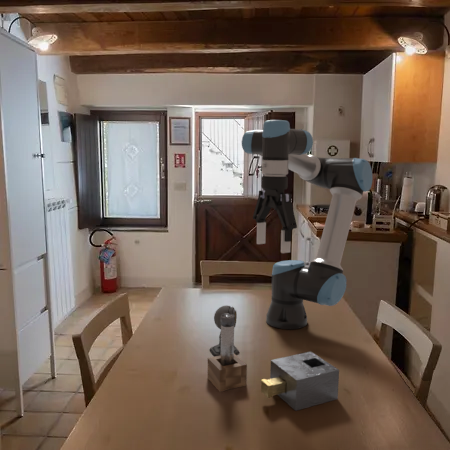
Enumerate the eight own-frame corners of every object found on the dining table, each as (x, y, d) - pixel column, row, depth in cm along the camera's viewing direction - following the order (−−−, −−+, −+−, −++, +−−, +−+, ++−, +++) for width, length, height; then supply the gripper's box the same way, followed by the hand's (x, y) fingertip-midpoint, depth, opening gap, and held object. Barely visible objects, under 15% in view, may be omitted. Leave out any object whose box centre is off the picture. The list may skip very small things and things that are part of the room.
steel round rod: (229, 373, 128) (230, 312, 125) (235, 379, 125) (237, 317, 122) (217, 376, 127) (218, 314, 124) (223, 382, 123) (224, 319, 120)
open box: (233, 372, 131) (233, 352, 130) (246, 385, 124) (246, 364, 123) (207, 378, 128) (207, 357, 127) (219, 391, 121) (219, 370, 120)
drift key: (261, 391, 116) (261, 379, 116) (291, 384, 120) (291, 372, 120) (268, 398, 113) (268, 386, 113) (298, 390, 117) (299, 378, 117)
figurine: (237, 359, 140) (238, 312, 138) (206, 355, 142) (206, 309, 140) (242, 347, 148) (242, 303, 146) (212, 344, 150) (212, 300, 148)
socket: (269, 388, 123) (270, 360, 122) (309, 378, 128) (310, 351, 127) (295, 410, 112) (296, 380, 111) (337, 399, 118) (339, 369, 117)
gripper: (242, 173, 141) (241, 241, 144) (288, 178, 118) (285, 258, 122) (263, 173, 144) (262, 239, 147) (311, 177, 122) (308, 255, 125)
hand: (272, 248), depth 135 cm, fingers open, 13 cm apart
